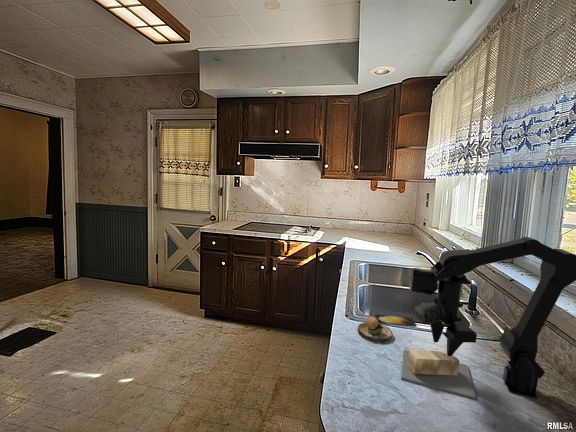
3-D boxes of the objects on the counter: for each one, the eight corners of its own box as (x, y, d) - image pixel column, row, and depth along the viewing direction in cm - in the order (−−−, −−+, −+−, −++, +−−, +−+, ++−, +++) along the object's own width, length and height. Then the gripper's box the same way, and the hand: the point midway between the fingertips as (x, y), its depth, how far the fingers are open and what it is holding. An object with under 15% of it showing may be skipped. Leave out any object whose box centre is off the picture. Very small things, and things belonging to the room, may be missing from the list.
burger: (393, 345, 104) (395, 324, 102) (357, 340, 106) (359, 319, 105) (389, 328, 115) (391, 309, 114) (357, 324, 117) (358, 305, 116)
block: (450, 351, 92) (409, 349, 91) (459, 360, 87) (416, 358, 86) (447, 366, 92) (407, 363, 91) (457, 375, 88) (414, 373, 87)
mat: (467, 366, 93) (467, 364, 93) (475, 399, 79) (476, 397, 79) (403, 351, 100) (403, 349, 100) (401, 379, 86) (401, 377, 86)
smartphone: (417, 326, 117) (376, 322, 118) (417, 328, 117) (376, 324, 118) (411, 317, 124) (373, 314, 125) (411, 319, 124) (373, 315, 125)
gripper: (405, 284, 95) (401, 331, 97) (438, 311, 77) (432, 369, 79) (440, 284, 96) (435, 332, 98) (481, 311, 77) (473, 369, 80)
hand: (442, 348), depth 89 cm, fingers open, 7 cm apart
